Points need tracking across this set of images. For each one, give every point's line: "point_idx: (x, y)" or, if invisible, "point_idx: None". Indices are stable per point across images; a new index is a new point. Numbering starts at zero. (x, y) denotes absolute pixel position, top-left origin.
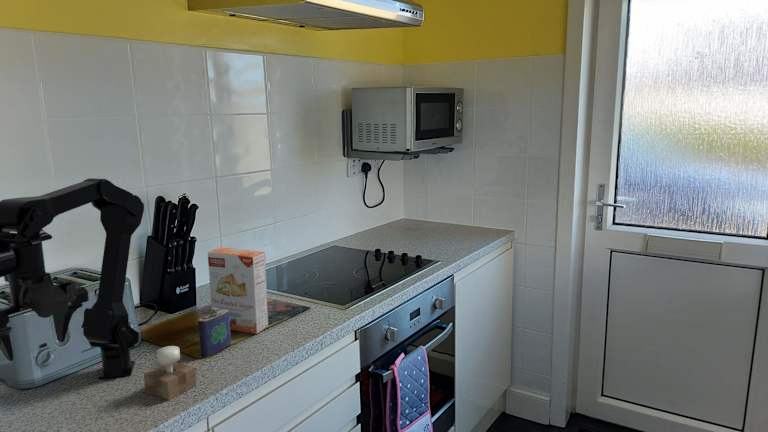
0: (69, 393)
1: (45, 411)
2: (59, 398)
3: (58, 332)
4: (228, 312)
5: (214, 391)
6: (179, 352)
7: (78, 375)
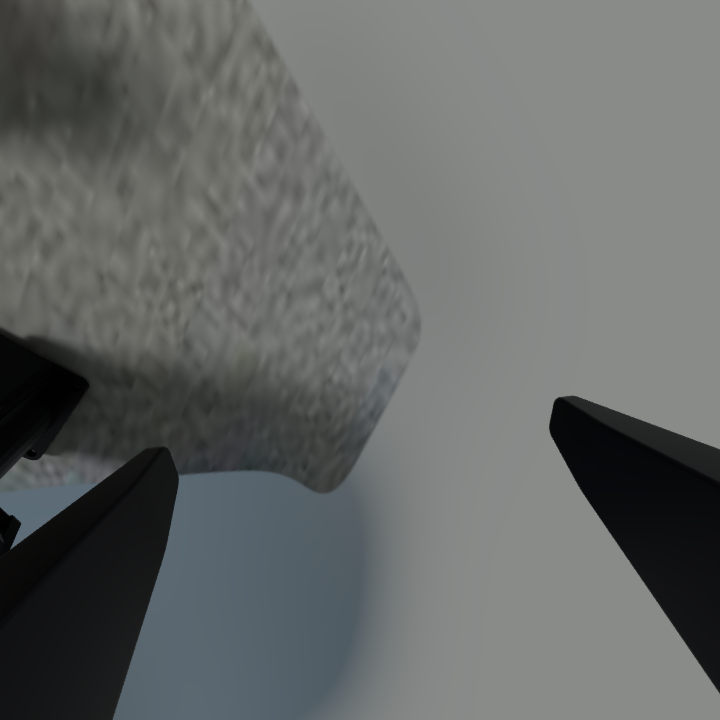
0: (212, 366)
1: (320, 311)
2: (250, 359)
3: (145, 544)
4: None
5: None
6: None
7: None
